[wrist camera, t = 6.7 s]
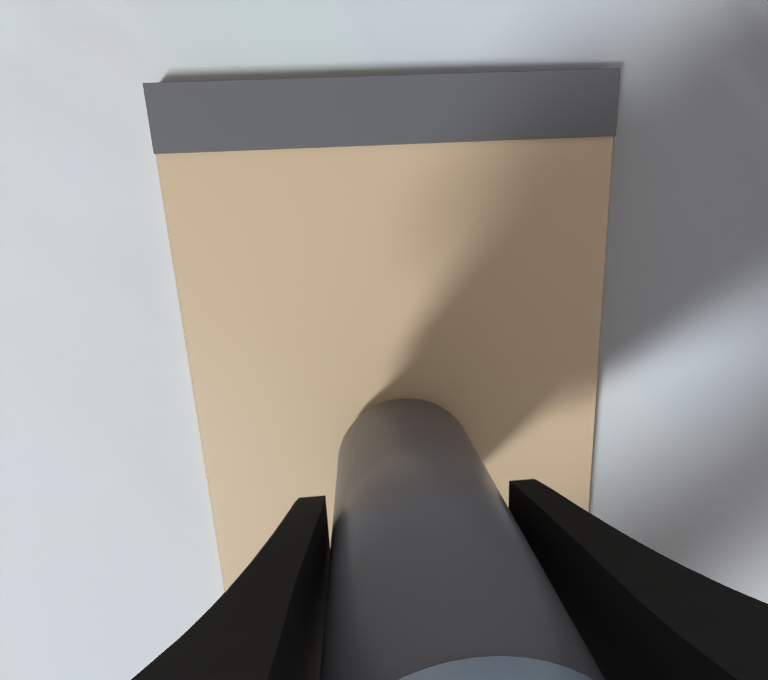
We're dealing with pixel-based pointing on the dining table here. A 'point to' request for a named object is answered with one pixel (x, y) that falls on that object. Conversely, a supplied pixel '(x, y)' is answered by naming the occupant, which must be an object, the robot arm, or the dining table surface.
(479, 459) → the blue grey cylinder
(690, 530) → the dining table surface
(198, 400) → the notepad
